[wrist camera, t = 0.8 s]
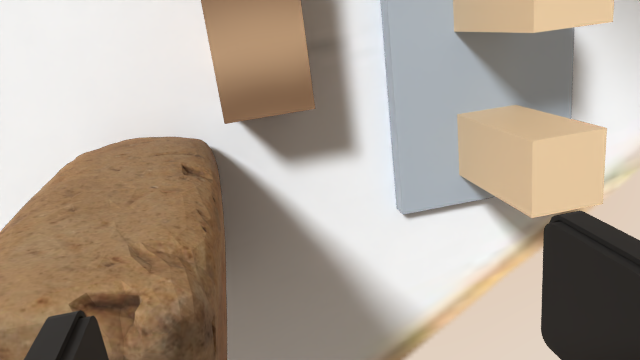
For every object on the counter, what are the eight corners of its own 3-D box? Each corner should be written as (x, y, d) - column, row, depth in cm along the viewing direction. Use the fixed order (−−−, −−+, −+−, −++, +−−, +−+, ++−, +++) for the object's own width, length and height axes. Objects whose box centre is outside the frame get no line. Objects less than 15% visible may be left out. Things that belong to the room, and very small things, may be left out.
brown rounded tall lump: (86, 127, 29) (-151, 314, 10) (220, 126, 30) (232, 286, 12) (103, 298, 32) (-52, 685, 13) (225, 289, 33) (241, 626, 15)
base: (375, -69, 29) (444, -110, 20) (564, -88, 31) (702, -134, 22) (396, 208, 34) (458, 269, 26) (557, 177, 36) (666, 225, 27)
